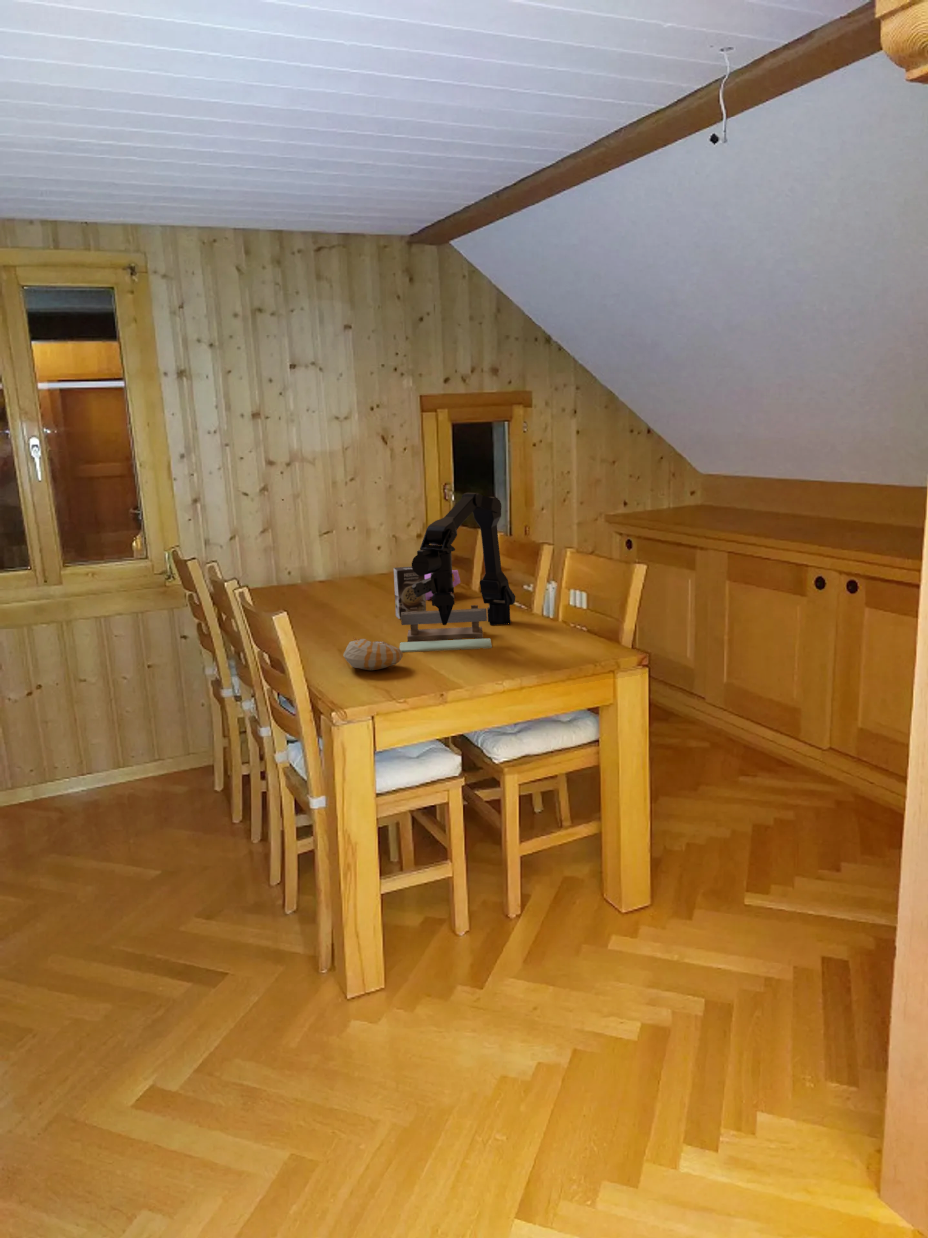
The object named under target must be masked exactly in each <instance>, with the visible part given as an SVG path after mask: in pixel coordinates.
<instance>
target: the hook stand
mask: <svg viewBox="0 0 928 1238" xmlns="http://www.w3.org/2000/svg"><path fill="white" fill-rule="evenodd" d="M470 609H479V605H478V604H474V605H473V604H471V605H470ZM410 612H417V608H410ZM409 626H410V629H407V631H408V632H407V636H406V637H407V642H420V641H442V640H448V639H453V640H463V639H462V638H475V639H484V632H483V626H480V621H479V622H471V626H467V627H444V628H422V629H420V628H419V624H414V625H409Z"/></svg>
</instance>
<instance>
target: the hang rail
mask: <svg viewBox="0 0 928 1238" xmlns="http://www.w3.org/2000/svg"><path fill="white" fill-rule="evenodd" d="M400 621H401V626H410V625H414V624H418V625H432V624H436V625H437V624H442V621H441V617H440V613H439V610H426V611H418V612H401V620H400ZM472 622H479V623H480V622H488V613H487V608H485V607H483V608H478V609H471V608H464V609H461V608H460V609H452V610H451V613H450V616H449V619H448V622H447V624H452V623H454V624H455V623H472Z"/></svg>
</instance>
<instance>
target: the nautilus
mask: <svg viewBox="0 0 928 1238" xmlns="http://www.w3.org/2000/svg"><path fill="white" fill-rule="evenodd" d="M352 639H353V641H349V643H348V644H347V646H346V648H345V651H344V652H343V657H344V659H345V661H346V662H347V663H348V664H349V665H350V666H351V667H353V668H356V669H361V670H365V671H375V670H381V669H385V668H388V667H392V666H394V665H397V664H398V663H399V662H401V660H402V658H403V656H404V654H403V653H404V652H402V651H401V650H400V649H399V647H396V646H394V645H392V644H390V643H387V642H385V641H371V640H368V639H366V638H358V639H357V638H356V637H352Z"/></svg>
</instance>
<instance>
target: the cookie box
mask: <svg viewBox="0 0 928 1238" xmlns="http://www.w3.org/2000/svg"><path fill="white" fill-rule="evenodd" d="M422 580H425V575H423V576H419V575H417V574H416V573H415V572H414V571H413V569H412V566H403V567H402V566H401V567H393V582H394V602H395V607H394V608H395V617H396V618H397V619H398V620H399V619H401V612H410V608H417V612H418V611H427V604H426V603H427V600H426V596H425V594H423V595H421V596H420V597H416V595H415V593H414V591H413V588H412V585H413V584H415V583H418V582H420V581H422Z"/></svg>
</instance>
